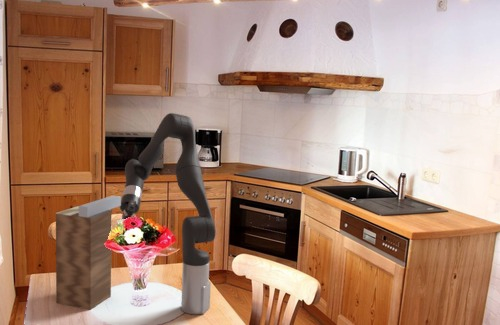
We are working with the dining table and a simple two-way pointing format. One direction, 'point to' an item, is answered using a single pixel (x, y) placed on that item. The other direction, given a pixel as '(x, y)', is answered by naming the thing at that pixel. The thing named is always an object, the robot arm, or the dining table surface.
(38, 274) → the dining table surface
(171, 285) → the dining table surface
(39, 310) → the dining table surface
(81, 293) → the wooden block
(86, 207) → the lever
